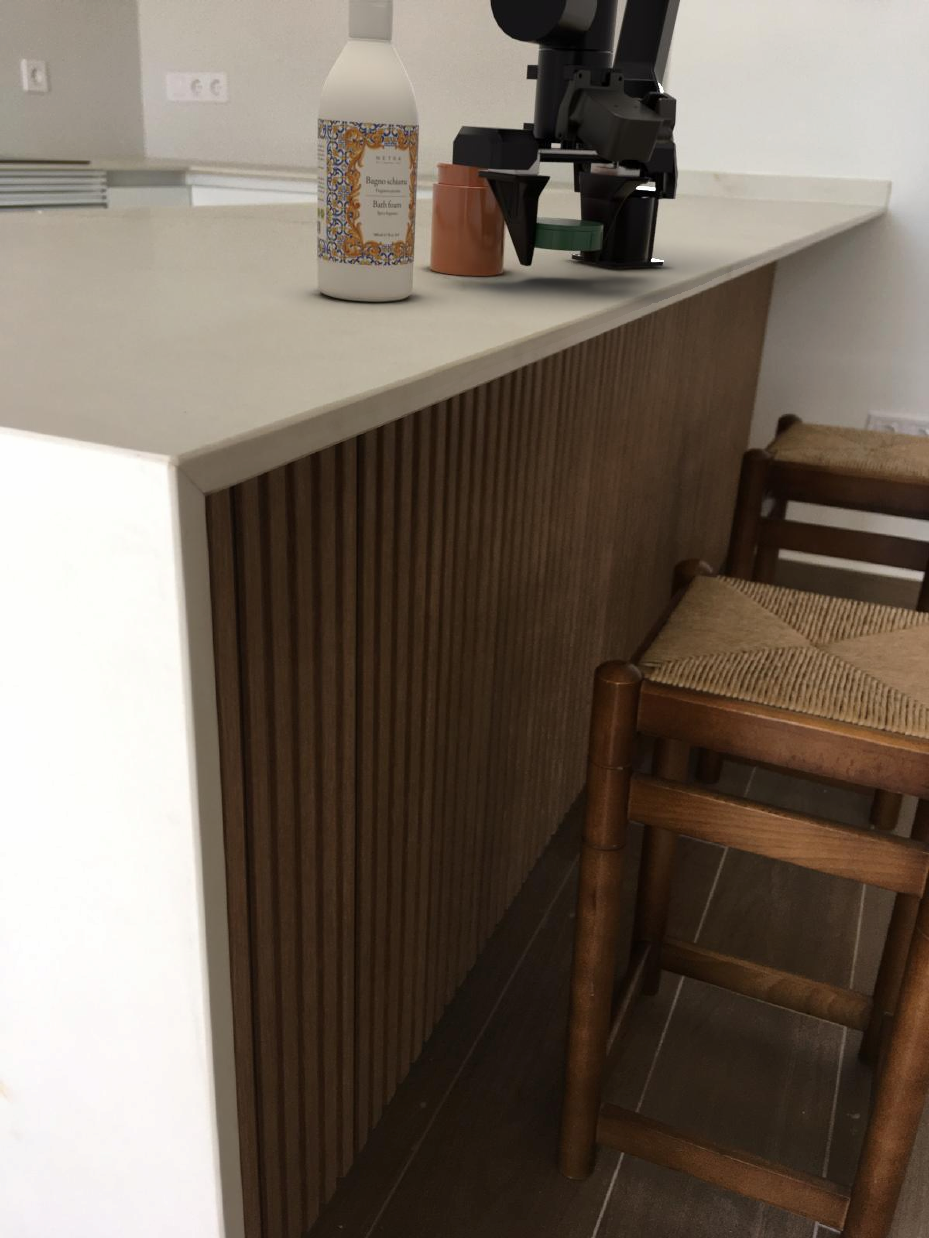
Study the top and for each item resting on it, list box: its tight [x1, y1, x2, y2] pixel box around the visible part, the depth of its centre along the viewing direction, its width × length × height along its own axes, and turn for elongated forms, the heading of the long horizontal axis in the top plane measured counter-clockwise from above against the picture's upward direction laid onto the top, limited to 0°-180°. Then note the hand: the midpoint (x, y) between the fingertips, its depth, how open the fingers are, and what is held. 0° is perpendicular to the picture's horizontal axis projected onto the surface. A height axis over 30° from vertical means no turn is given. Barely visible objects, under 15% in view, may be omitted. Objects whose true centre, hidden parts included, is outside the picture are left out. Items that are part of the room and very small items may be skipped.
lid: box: [534, 216, 603, 252], centre depth 88 cm, size 7×7×2 cm
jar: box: [429, 161, 507, 277], centre depth 92 cm, size 6×6×9 cm
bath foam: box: [316, 0, 420, 303], centre depth 74 cm, size 7×7×20 cm
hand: (558, 264), depth 89 cm, fingers closed on lid, 6 cm apart
